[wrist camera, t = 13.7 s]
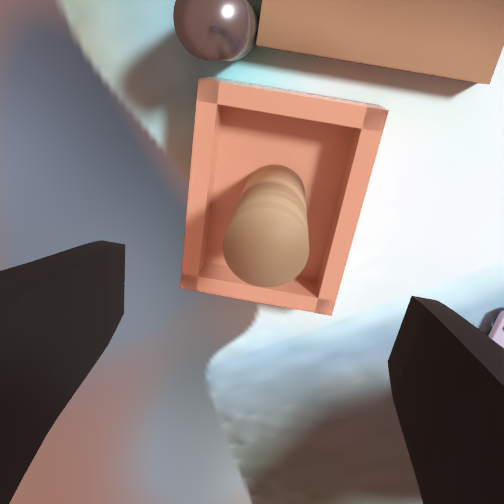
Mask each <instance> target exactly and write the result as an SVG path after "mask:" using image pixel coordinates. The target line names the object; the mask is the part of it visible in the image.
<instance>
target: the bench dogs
mask: <svg viewBox="0 0 504 504" xmlns="http://www.w3.org/2000/svg"><path fill="white" fill-rule="evenodd" d="M174 26H175V30H176V33H177V35H178V38H179V40H180V41H181V43H182V44H183V46H184V47H185V48H186V49H187V50H188V51H189V52H190V53H192V54H193V55H194V56H196V57H198V58H201V59H204V60H210V61H236V60H239V59H242V58H243V57H245V56H246V55H247V54H249V53H250V51H251V50H252V49H253V47H254V46H255V44H256V41H257V34H258V27H259V23H258V18H257V15H256V13H255V11H254V9H253V7H252V6H251V4H250V3H249V2H248V1H247V0H176V2H175V6H174Z"/></svg>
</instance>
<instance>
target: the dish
mask: <svg viewBox="0 0 504 504" xmlns="http://www.w3.org/2000/svg"><path fill="white" fill-rule="evenodd" d="M388 111H389V110H387V109H385V108H383V107H381V106H379V105H375V104H369V103H363V102H357V101H351V100H345V99H339V98H333V97H327V96H321V95H316V94H310V93H304V92H298V91H292V90H286V89H280V88H274V87H268V86H262V85H256V84H251V83H245V82H239V81H233V80H227V79H221V78H215V77H203V78H199V79H198V90H197V101H196V113H195V124H194V135H193V146H192V158H191V169H190V180H189V191H188V203H187V214H186V225H185V236H184V248H183V259H182V270H181V281H180V288H183V289H188V290H193V291H199V292H205V293H210V294H215V295H221V296H227V297H232V298H237V299H242V300H248V301H253V302H259V303H264V304H270V305H275V306H281V307H286V308H292V309H297V310H303V311H308V312H313V313H319V314H324V315H330V316H332V312H333V309H334V305H335V301H336V298H337V294H338V291H339V287H340V283H341V280H342V276H343V273H344V269H345V265H346V262H347V258H348V255H349V251H350V247H351V244H352V240H353V237H354V233H355V230H356V226H357V222H358V219H359V215H360V212H361V208H362V204H363V201H364V197H365V194H366V190H367V186H368V183H369V179H370V176H371V172H372V168H373V165H374V161H375V158H376V154H377V151H378V147H379V143H380V140H381V136H382V133H383V129H384V125H385V122H386V118H387V115H388ZM272 164H276V165H282V166H286V167H288V168H290V169H291V170H293V171H294V172H295V173H296V174H297V175H298V176H299V177H300V179H301V180H302V182H303V185H304V188H305V197H306V211H307V224H308V238H309V256H308V260H307V263H306V265H305V267H304V268H303V270H302V271H301V273H300V274H299V275H298V276H297V277H296V278H294V279H293V280H291V281H290V282H288V283H286V284H283V285H280V286H277V287H258V286H254V285H251V284H248V283H246V282H244V281H243V280H241V279H240V278H238V277H237V276H236V275H235V274H234V273H233V272H232V271H231V270H230V268H229V267H228V265H227V263H226V261H225V258H224V255H223V239H224V235H225V233H226V230H227V228H228V225H229V223H230V220H231V218H232V215H233V213H234V210H235V208H236V206H237V203H238V201H239V198H240V196H241V193H242V191H243V188H244V186H245V184H246V181H247V179H248V178H249V176H250V175H251V174H252V173H253V172H254V171H256V170H257V169H259V168H261V167H263V166H266V165H272Z"/></svg>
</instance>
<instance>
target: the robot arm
mask: <svg viewBox="0 0 504 504" xmlns="http://www.w3.org/2000/svg"><path fill="white" fill-rule="evenodd" d="M124 279H125V245H124V244H119V243H113V242H108V241H96V242H92V243H88V244H84V245H81V246H78V247H75V248H72V249H69V250H66V251H63V252H60V253H57V254H54V255H51V256H47V257H44V258H41V259H38V260H35V261H33V262H29V263H26V264H22V265H19V266H16V267H12V268H9V269H6V270H2V271H0V504H9V503H10V501H11V499H12V497H13V495H14V493H15V491H16V490H17V487H18V486H19V483H20V482H21V480H22V478H23V476H24V474H25V473H26V471H27V469H28V467H29V465H30V464H31V462H32V460H33V458H34V456H35V455H36V453H37V451H38V449H39V447H40V446H41V444H42V442H43V440H44V438H45V437H46V435H47V433H48V432H49V430H50V428H51V427H52V426H53V424H54V422H55V421H56V419H57V418H58V416H59V415H60V413H61V412H62V410H63V409H64V408H65V406H66V405H67V403H68V402H69V400H70V399H71V398H72V396H73V395H74V393H75V392H76V390H77V389H78V388H79V386H80V385H81V383H82V382H83V381H84V379H85V378H86V376H87V375H88V373H89V372H90V370H91V369H92V367H93V366H94V365H95V363H96V362H97V360H98V358H99V357H100V356H101V354H102V353H103V352H104V350H105V348H106V347H107V346H108V344H109V342H110V340H111V338H112V336H113V334H114V332H115V330H116V328H117V326H118V324H119V322H120V320H121V318H122V316H123V314H124ZM503 327H504V310H503V311H501V312H500V314H499V315H498V317H497V319H496V321H495V323H494V325H493V327H492V329H491V331H490V334H489V336H487V335H486V334H484V333H483V332H482V331H480V330H479V329H478V328H476V327H475V326H474V325H472V324H471V323H470V322H468V321H467V320H465V319H464V318H463V317H461V316H460V315H459V314H457V313H456V312H454V311H453V310H452V309H450V308H449V307H447V306H446V305H444V304H442V303H440V302H439V301H437V300H432V299H426V298H420V297H415V296H412V297H411V299H410V302H409V305H408V308H407V310H406V313H405V316H404V319H403V321H402V324H401V327H400V329H399V332H398V335H397V338H396V340H395V343H394V346H393V349H392V351H391V354H390V357H389V360H388V368H389V376H390V383H391V389H392V396H393V400H394V404H395V407H396V411H397V414H398V418H399V421H400V425H401V428H402V432H403V435H404V438H405V442H406V445H407V448H408V452H409V455H410V458H411V462H412V465H413V468H414V472H415V475H416V478H417V482H418V485H419V489H420V493H421V497H422V500H423V504H504V329H502V328H503Z"/></svg>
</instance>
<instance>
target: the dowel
mask: <svg viewBox="0 0 504 504" xmlns="http://www.w3.org/2000/svg"><path fill="white" fill-rule="evenodd" d="M223 255H224V258H225V261H226V263H227V265H228V267H229V268H230V270H231V271H232V272H233V273H234V274H235V275H236V276H237V277H238V278H240V279H241V280H243V281H244V282H246V283H248V284H251V285H254V286H258V287H277V286H280V285H283V284H286V283H288V282H290V281H291V280H293V279H294V278H296V277H297V276H298V275H299V274H300V273H301V271H302V270H303V268H304V267H305V265H306V263H307V260H308V256H309V238H308V224H307V211H306V197H305V188H304V185H303V182H302V180H301V179H300V177H299V176H298V175H297V174H296V173H295V172H294V171H293V170H291V169H290V168H288V167H286V166H282V165H276V164H272V165H266V166H263V167H261V168H259V169H257V170H256V171H254V172H253V173H252V174H251V175H250V176H249V178H248V179H247V181H246V184H245V186H244V188H243V191H242V193H241V196H240V198H239V201H238V203H237V206H236V208H235V210H234V213H233V215H232V218H231V220H230V223H229V225H228V228H227V230H226V233H225V235H224V239H223Z"/></svg>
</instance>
